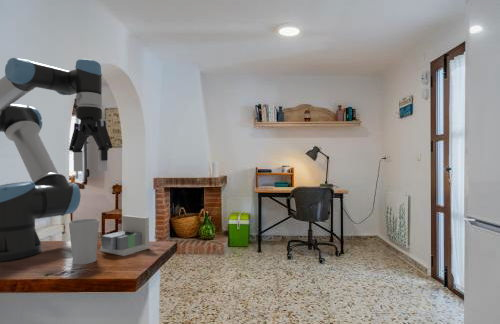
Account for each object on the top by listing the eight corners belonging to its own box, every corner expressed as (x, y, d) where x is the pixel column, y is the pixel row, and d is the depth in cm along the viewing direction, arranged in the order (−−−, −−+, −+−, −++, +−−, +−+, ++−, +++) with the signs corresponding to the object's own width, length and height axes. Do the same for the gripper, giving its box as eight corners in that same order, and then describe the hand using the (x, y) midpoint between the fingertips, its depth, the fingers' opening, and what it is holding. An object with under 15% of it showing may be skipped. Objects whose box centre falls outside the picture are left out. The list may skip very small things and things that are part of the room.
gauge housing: (100, 251, 103) (100, 219, 103) (126, 244, 111) (125, 215, 111) (123, 255, 97) (123, 222, 97) (149, 248, 105) (148, 217, 105)
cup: (86, 266, 87) (86, 223, 87) (62, 264, 89) (62, 223, 89) (105, 257, 95) (104, 218, 95) (82, 256, 97) (82, 218, 97)
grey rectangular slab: (101, 248, 99) (101, 233, 99) (123, 242, 106) (122, 228, 106) (116, 251, 95) (116, 235, 96) (137, 245, 102) (137, 230, 102)
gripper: (57, 109, 106) (57, 171, 105) (101, 101, 93) (102, 171, 93) (78, 112, 112) (79, 171, 112) (123, 104, 99) (124, 170, 99)
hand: (90, 171), depth 102 cm, fingers open, 13 cm apart
